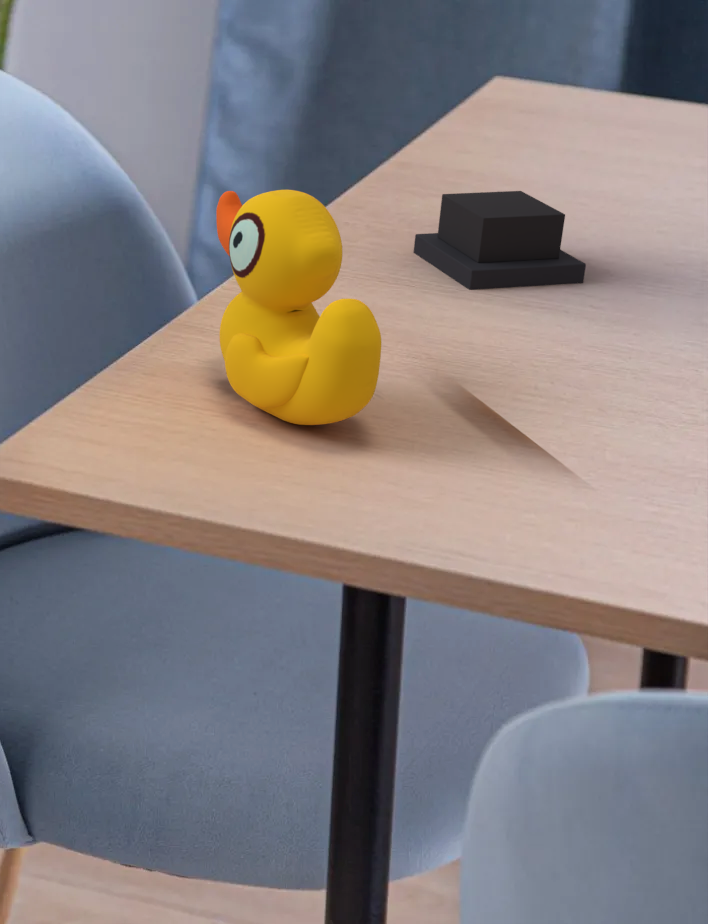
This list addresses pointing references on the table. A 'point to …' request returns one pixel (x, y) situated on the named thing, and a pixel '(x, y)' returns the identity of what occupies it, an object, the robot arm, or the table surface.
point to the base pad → (497, 267)
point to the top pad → (500, 226)
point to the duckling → (293, 312)
